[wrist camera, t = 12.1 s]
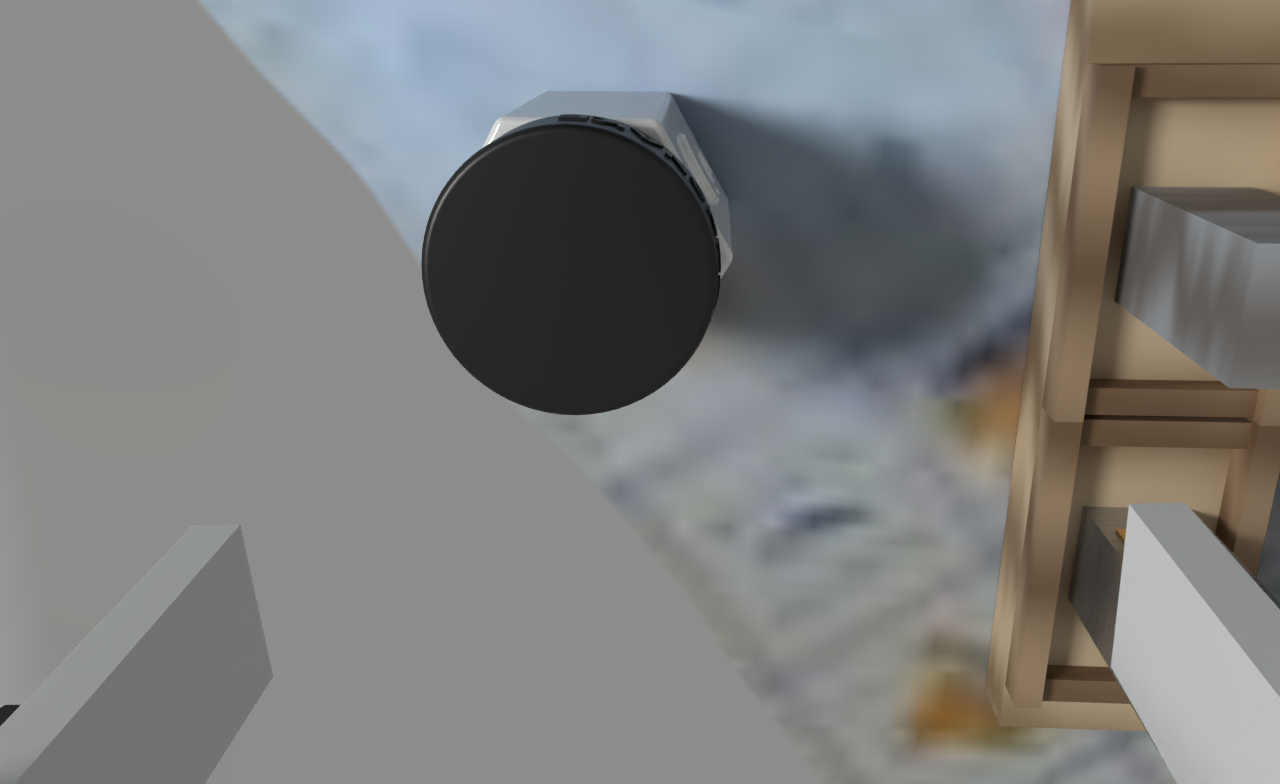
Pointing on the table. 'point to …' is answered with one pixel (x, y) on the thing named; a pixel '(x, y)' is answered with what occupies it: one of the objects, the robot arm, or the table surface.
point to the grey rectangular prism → (1107, 575)
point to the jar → (579, 251)
